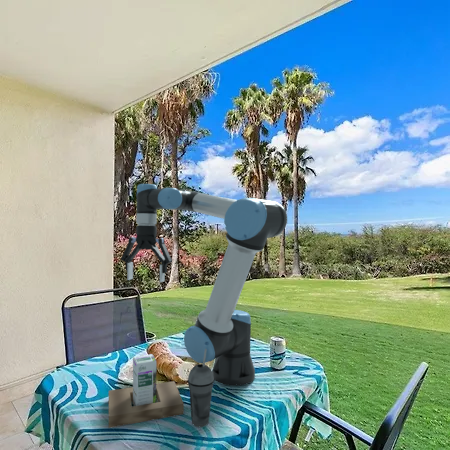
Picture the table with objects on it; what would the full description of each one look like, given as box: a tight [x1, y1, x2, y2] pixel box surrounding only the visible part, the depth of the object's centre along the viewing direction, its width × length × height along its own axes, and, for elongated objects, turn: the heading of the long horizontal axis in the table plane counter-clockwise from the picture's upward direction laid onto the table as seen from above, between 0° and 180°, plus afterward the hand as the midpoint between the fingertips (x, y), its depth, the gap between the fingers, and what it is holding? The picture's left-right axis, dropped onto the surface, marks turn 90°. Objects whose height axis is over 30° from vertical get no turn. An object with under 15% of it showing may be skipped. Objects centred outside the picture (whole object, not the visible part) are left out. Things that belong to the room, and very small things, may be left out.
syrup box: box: [132, 353, 157, 407], centre depth 97 cm, size 6×6×14 cm
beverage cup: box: [187, 349, 215, 428], centre depth 91 cm, size 7×7×20 cm
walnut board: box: [108, 380, 185, 429], centre depth 97 cm, size 20×14×3 cm
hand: (145, 280), depth 127 cm, fingers open, 13 cm apart
